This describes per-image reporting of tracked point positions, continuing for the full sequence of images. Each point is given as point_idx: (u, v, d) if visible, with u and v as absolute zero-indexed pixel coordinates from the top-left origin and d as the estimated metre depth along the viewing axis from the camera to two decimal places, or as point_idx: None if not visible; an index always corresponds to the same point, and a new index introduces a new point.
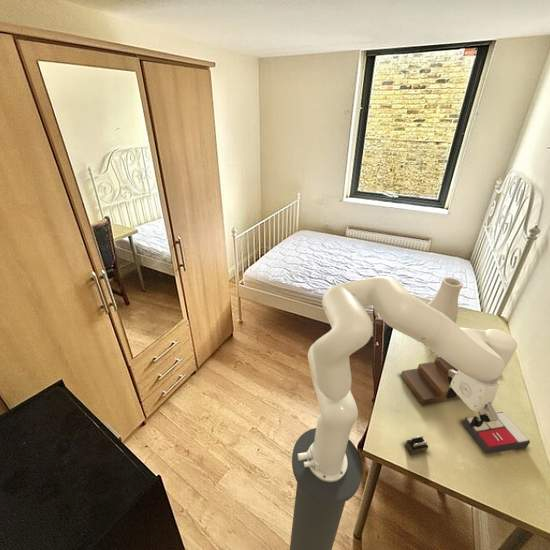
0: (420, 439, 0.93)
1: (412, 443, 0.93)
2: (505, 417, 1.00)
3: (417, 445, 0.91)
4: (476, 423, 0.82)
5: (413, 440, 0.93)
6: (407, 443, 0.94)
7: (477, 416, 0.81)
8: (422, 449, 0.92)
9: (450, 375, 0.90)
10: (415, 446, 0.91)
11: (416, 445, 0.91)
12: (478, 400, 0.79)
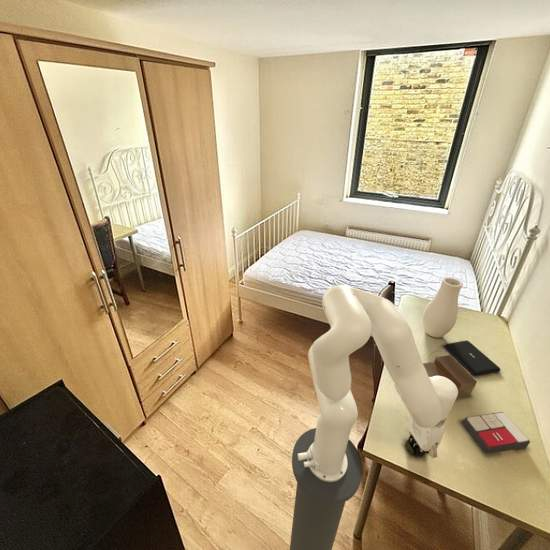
0: None
1: (412, 443, 0.93)
2: (505, 417, 1.00)
3: (417, 445, 0.91)
4: (419, 453, 0.91)
5: (413, 440, 0.93)
6: (407, 443, 0.94)
7: (419, 447, 0.90)
8: None
9: None
10: (415, 446, 0.91)
11: (416, 445, 0.91)
12: (426, 441, 0.84)
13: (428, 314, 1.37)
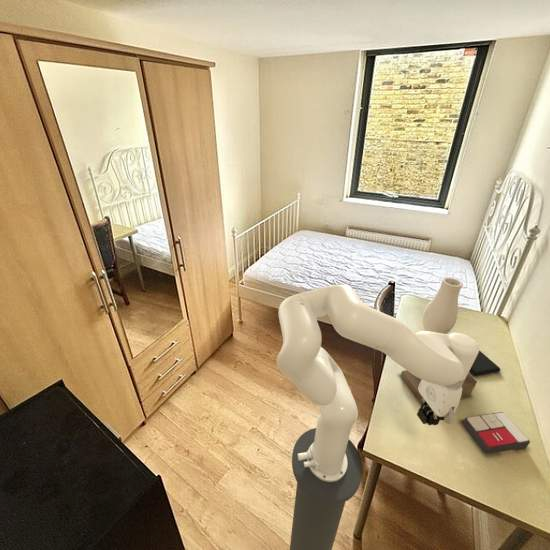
0: None
1: (425, 411, 0.86)
2: (505, 417, 1.00)
3: (431, 412, 0.84)
4: (433, 421, 0.84)
5: (426, 408, 0.86)
6: (419, 411, 0.87)
7: (433, 414, 0.83)
8: None
9: None
10: (428, 414, 0.84)
11: (430, 412, 0.84)
12: (442, 405, 0.78)
13: (428, 314, 1.37)
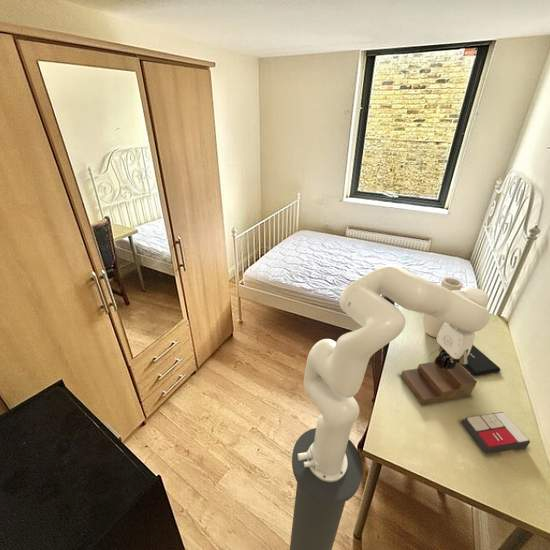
0: None
1: (442, 358, 1.02)
2: (505, 417, 1.00)
3: (447, 358, 1.00)
4: (449, 365, 1.00)
5: (443, 355, 1.02)
6: (438, 358, 1.02)
7: (450, 359, 0.99)
8: None
9: None
10: (446, 359, 1.00)
11: (447, 358, 1.00)
12: (458, 348, 0.93)
13: None
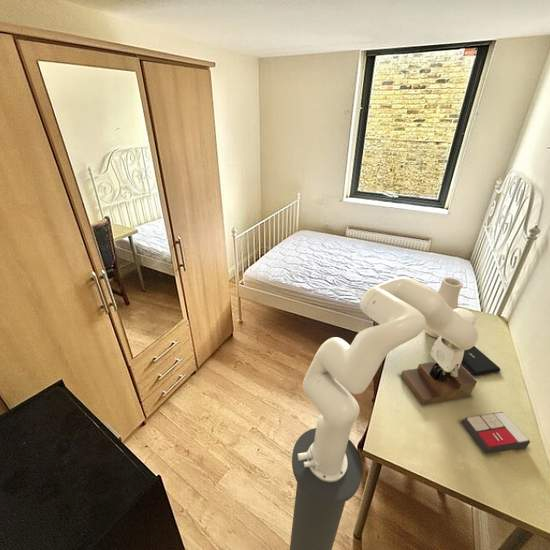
0: None
1: (436, 370, 1.12)
2: (505, 417, 1.00)
3: (440, 371, 1.11)
4: (442, 377, 1.11)
5: (437, 368, 1.12)
6: (432, 370, 1.13)
7: None
8: None
9: None
10: (439, 371, 1.11)
11: (440, 370, 1.11)
12: (449, 362, 1.04)
13: None
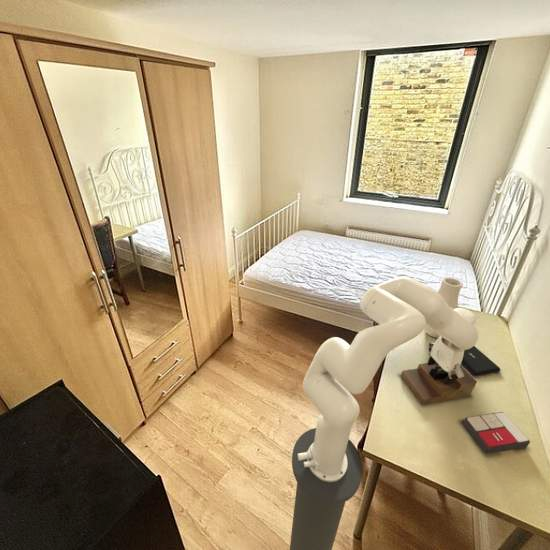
0: None
1: (436, 370, 1.12)
2: (505, 417, 1.00)
3: (440, 371, 1.11)
4: (448, 381, 1.07)
5: (437, 367, 1.12)
6: (432, 370, 1.13)
7: (449, 375, 1.06)
8: (444, 374, 1.12)
9: (430, 346, 1.16)
10: (439, 371, 1.11)
11: (439, 370, 1.11)
12: (449, 362, 1.04)
13: None
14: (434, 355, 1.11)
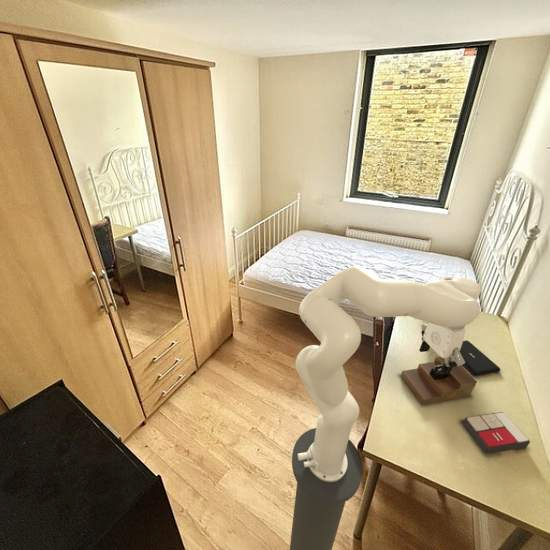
0: None
1: (436, 370, 1.12)
2: (505, 417, 1.00)
3: None
4: (445, 370, 0.87)
5: (437, 367, 1.12)
6: (432, 370, 1.13)
7: (446, 362, 0.86)
8: (444, 374, 1.12)
9: (423, 329, 0.95)
10: (439, 371, 1.11)
11: (439, 370, 1.11)
12: (446, 346, 0.83)
13: None
14: (428, 338, 0.90)
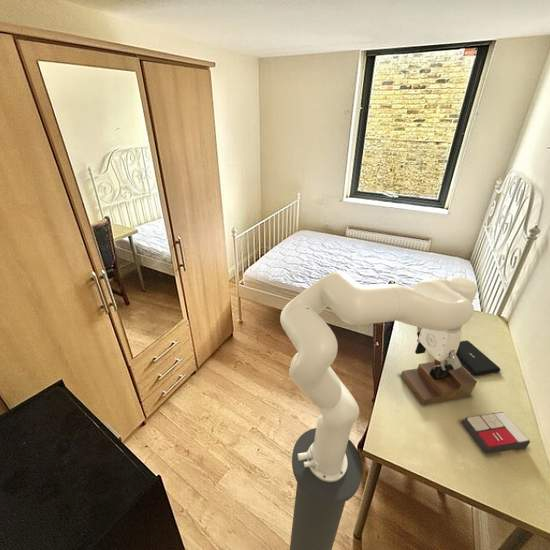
0: None
1: (436, 370, 1.12)
2: (505, 417, 1.00)
3: None
4: (441, 373, 0.83)
5: (437, 367, 1.12)
6: (432, 370, 1.13)
7: (442, 365, 0.82)
8: None
9: (419, 330, 0.91)
10: None
11: None
12: (442, 348, 0.79)
13: None
14: (423, 340, 0.86)
